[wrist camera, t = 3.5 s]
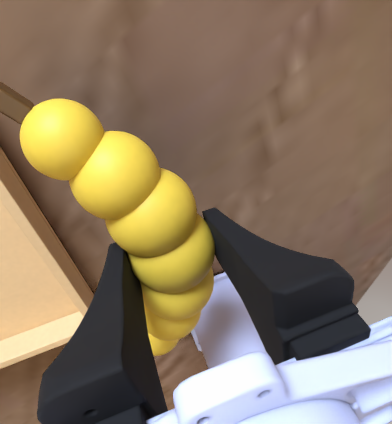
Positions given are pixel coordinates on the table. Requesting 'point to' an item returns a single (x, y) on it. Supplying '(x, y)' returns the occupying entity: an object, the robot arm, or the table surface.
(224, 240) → the robot arm
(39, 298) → the tray
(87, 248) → the table surface
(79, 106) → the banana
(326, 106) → the table surface
